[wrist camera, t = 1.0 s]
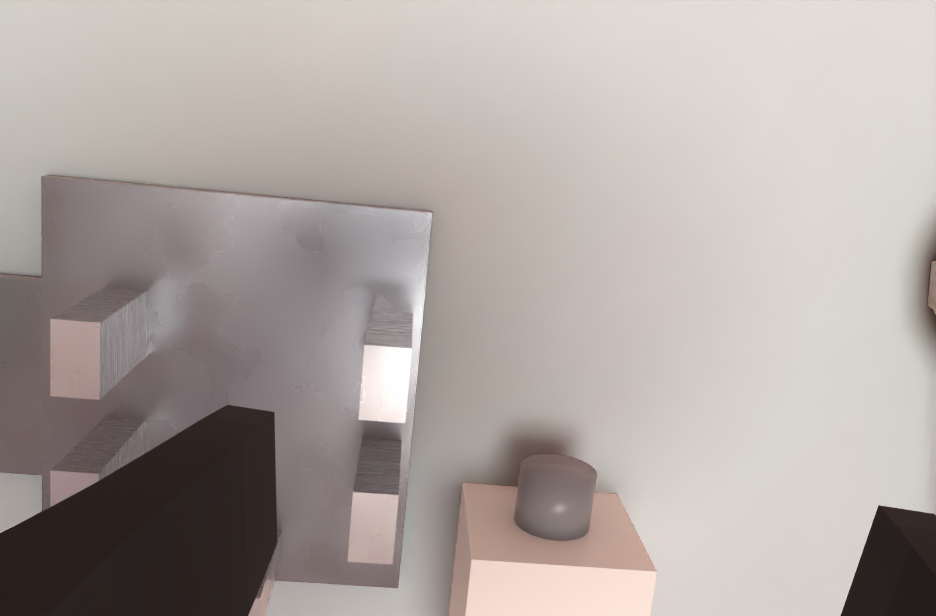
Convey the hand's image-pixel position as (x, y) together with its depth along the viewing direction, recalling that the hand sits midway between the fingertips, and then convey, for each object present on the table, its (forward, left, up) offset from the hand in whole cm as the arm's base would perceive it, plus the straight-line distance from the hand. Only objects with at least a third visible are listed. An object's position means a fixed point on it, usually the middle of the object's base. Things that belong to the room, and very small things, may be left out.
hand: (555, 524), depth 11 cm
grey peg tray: (-4, +10, -17) cm, 20 cm away
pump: (-9, -3, -17) cm, 19 cm away
